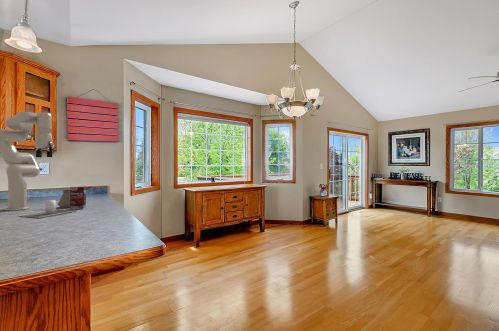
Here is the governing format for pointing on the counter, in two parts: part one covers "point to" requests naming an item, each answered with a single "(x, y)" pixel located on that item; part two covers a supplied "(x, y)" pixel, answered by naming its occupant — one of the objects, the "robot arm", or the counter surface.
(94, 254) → the counter surface
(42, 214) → the throwing mat
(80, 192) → the supplement box
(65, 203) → the coffee pot
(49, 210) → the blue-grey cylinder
